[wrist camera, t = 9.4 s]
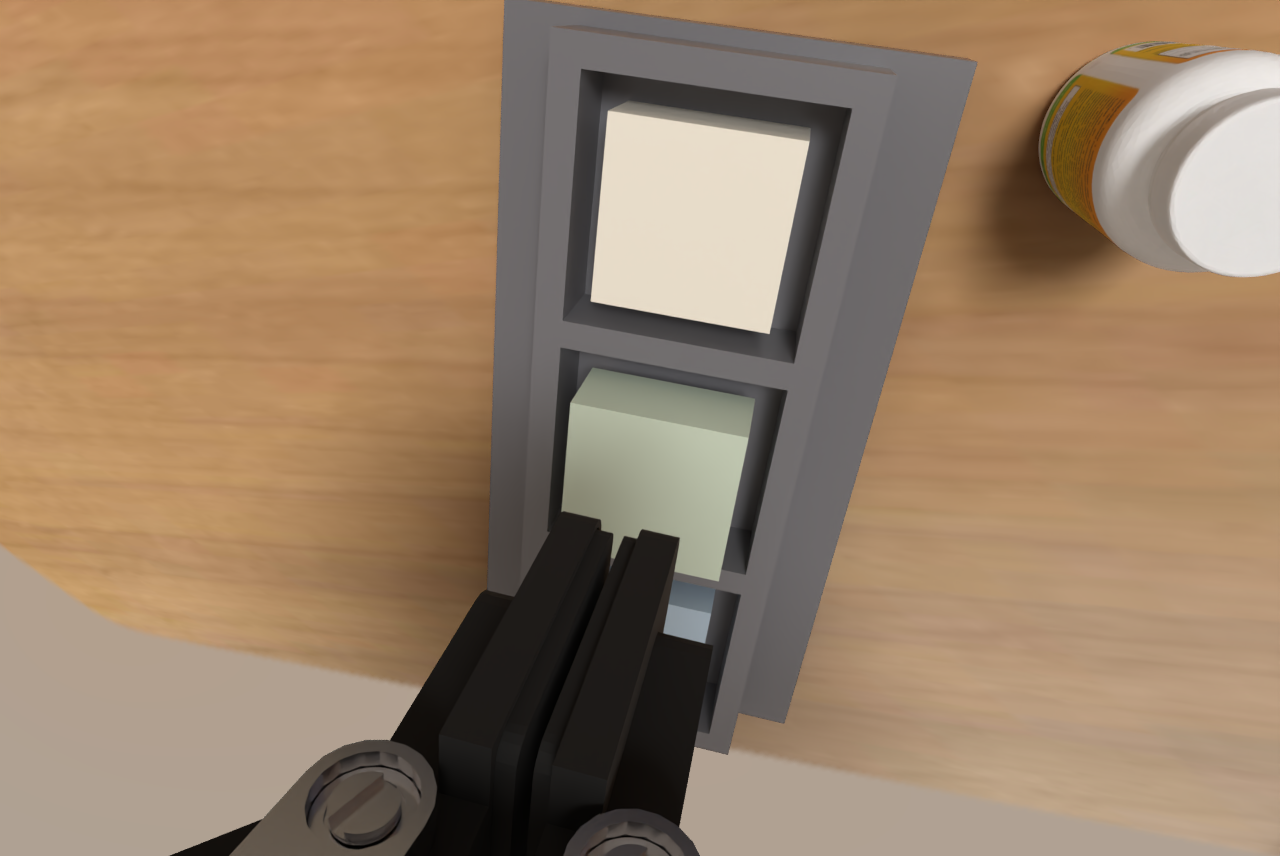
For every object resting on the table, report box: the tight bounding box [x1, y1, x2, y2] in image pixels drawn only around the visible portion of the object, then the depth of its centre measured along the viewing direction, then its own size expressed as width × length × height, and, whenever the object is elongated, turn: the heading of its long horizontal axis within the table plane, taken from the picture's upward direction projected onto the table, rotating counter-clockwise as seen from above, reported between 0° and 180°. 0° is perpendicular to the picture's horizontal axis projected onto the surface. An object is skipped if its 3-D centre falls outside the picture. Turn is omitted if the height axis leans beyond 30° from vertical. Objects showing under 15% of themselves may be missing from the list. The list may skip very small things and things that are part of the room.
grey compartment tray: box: [487, 0, 977, 755], centre depth 32 cm, size 15×29×5 cm, turn 174°
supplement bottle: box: [1038, 41, 1280, 277], centre depth 22 cm, size 5×5×10 cm
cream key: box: [591, 101, 811, 334], centre depth 26 cm, size 6×6×3 cm
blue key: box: [609, 566, 716, 643], centre depth 35 cm, size 6×6×3 cm
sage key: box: [561, 368, 755, 581], centre depth 29 cm, size 6×6×3 cm
